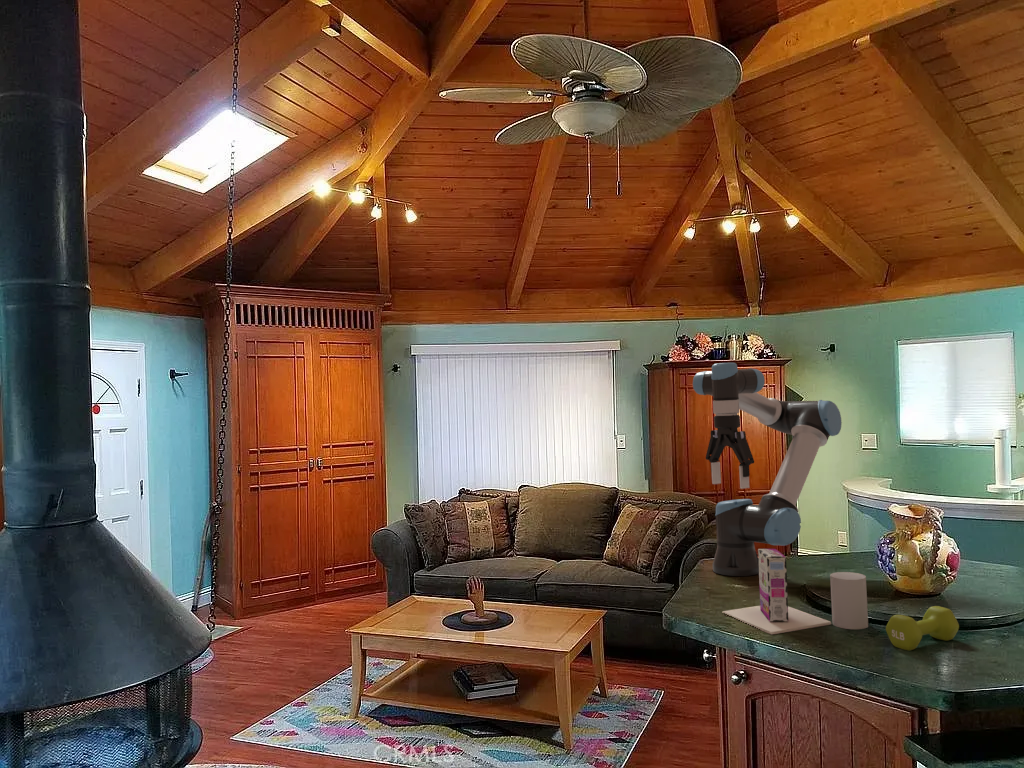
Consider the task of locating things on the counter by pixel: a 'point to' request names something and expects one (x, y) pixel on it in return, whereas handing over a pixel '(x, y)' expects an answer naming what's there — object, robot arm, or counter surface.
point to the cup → (849, 600)
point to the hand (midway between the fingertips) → (730, 486)
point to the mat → (795, 622)
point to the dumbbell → (922, 627)
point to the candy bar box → (773, 585)
